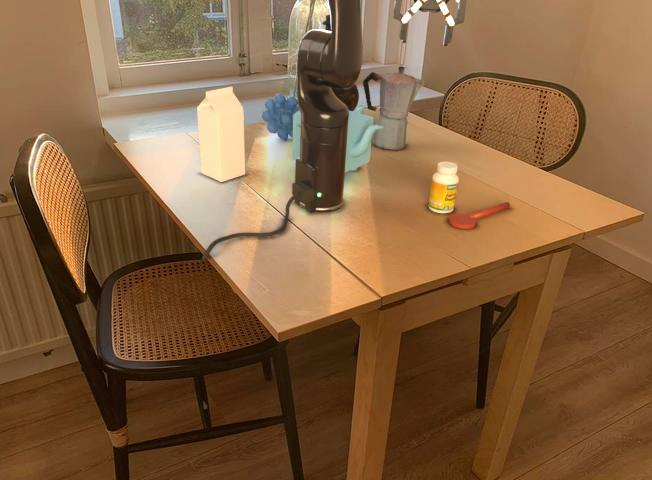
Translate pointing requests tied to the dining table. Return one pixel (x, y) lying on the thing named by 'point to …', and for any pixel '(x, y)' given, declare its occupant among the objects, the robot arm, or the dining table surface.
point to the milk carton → (221, 135)
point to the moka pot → (393, 106)
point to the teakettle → (356, 138)
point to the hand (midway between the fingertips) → (424, 43)
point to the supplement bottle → (444, 188)
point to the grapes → (280, 115)
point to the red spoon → (474, 216)
